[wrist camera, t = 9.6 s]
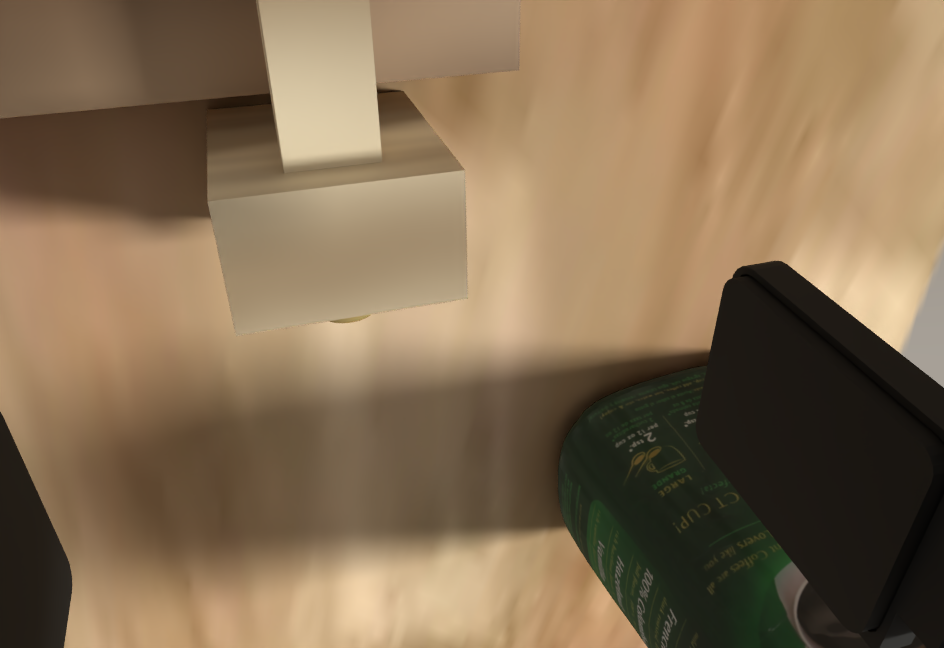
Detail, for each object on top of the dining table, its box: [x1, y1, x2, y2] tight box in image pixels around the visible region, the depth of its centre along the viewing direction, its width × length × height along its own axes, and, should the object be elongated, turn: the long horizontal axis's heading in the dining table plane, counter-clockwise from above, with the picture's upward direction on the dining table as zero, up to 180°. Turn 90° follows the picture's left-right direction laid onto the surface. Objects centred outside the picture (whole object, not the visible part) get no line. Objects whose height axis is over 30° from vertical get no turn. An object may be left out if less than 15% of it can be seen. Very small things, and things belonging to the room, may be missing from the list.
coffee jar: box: [558, 365, 926, 648], centre depth 23 cm, size 10×8×19 cm
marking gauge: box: [207, 0, 468, 336], centre depth 16 cm, size 13×5×6 cm, turn 1°
